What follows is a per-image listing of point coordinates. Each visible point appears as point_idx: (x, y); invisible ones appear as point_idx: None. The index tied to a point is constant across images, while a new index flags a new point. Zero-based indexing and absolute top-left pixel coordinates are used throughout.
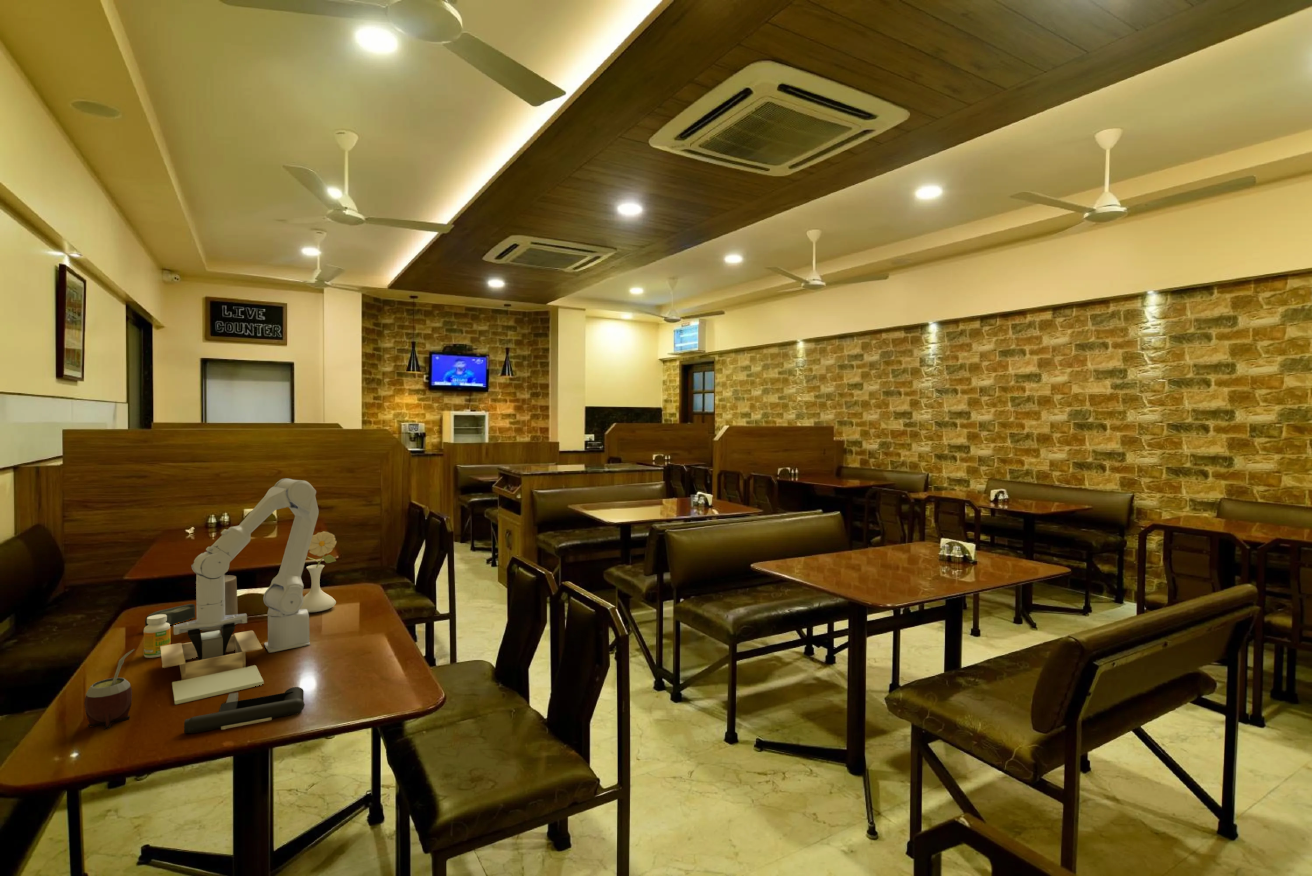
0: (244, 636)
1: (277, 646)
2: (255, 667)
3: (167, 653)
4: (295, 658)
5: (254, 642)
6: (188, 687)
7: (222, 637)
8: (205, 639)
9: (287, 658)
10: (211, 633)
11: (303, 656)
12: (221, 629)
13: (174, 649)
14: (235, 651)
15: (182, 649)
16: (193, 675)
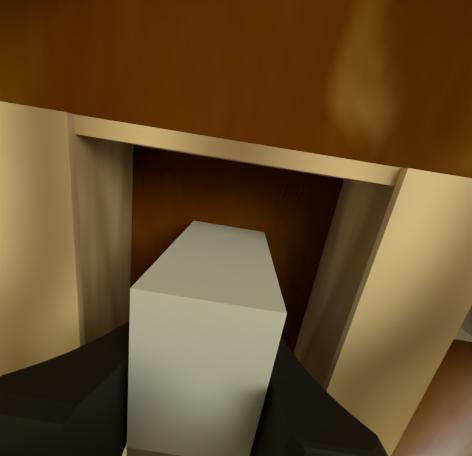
0: (411, 294)
1: (467, 332)
2: None
3: (5, 288)
4: (433, 423)
5: (386, 422)
6: (123, 454)
7: (255, 436)
8: (147, 452)
9: (418, 407)
10: (209, 356)
11: (459, 424)
12: (273, 446)
13: (33, 243)
14: (336, 213)
15: (75, 275)
16: None
